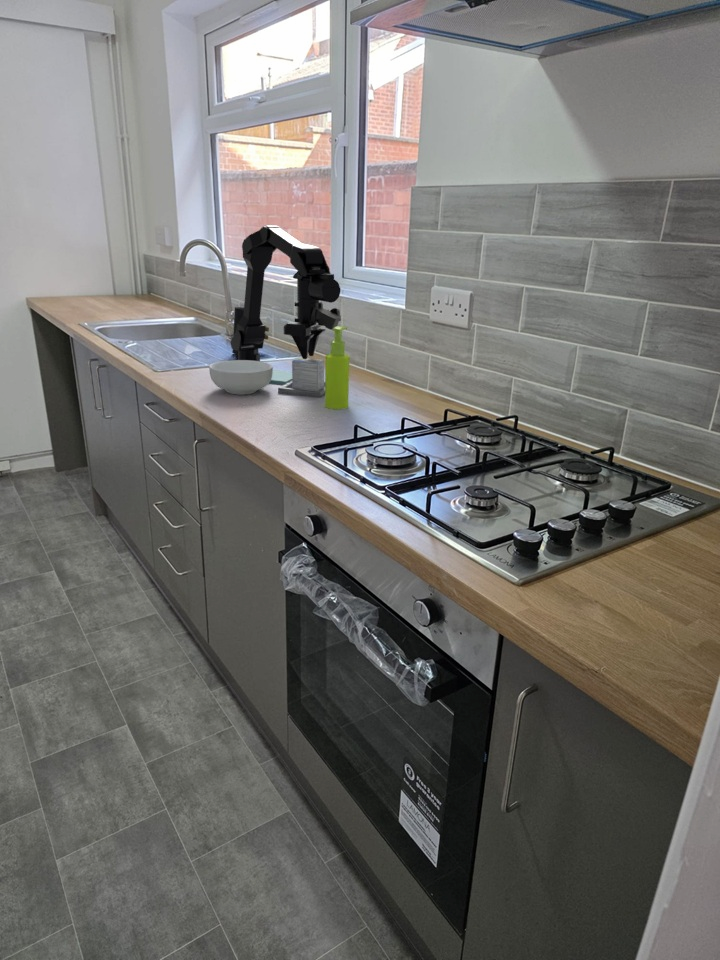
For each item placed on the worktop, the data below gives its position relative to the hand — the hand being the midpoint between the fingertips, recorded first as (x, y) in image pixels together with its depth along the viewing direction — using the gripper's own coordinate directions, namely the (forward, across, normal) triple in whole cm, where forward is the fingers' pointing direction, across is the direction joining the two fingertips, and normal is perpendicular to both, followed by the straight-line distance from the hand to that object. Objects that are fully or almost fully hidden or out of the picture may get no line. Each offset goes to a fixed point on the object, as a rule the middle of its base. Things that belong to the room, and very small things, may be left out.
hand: (308, 357), depth 176 cm
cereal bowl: (+10, -8, +16) cm, 20 cm away
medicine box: (+10, 0, 0) cm, 10 cm away
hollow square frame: (+9, 0, 0) cm, 9 cm away
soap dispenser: (+9, -11, -13) cm, 20 cm away
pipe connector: (+9, +38, +38) cm, 55 cm away
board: (+9, +9, +14) cm, 19 cm away
